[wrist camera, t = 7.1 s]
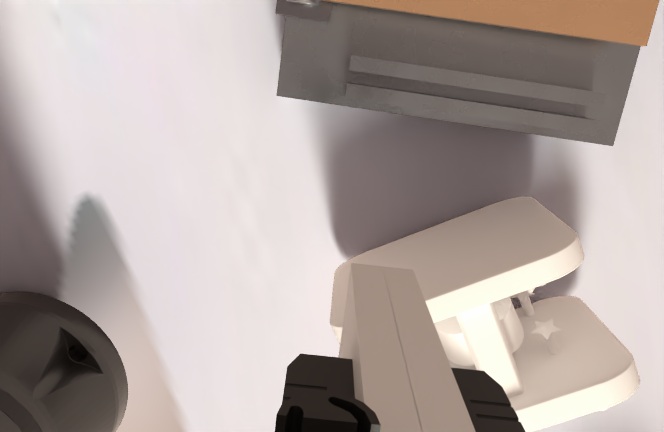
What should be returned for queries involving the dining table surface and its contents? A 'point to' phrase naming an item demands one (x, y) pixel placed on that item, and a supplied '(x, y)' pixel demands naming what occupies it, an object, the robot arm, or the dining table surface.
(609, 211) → the dining table surface
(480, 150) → the dining table surface
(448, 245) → the cable organizer
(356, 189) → the dining table surface
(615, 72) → the grey stepped block
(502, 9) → the strap
